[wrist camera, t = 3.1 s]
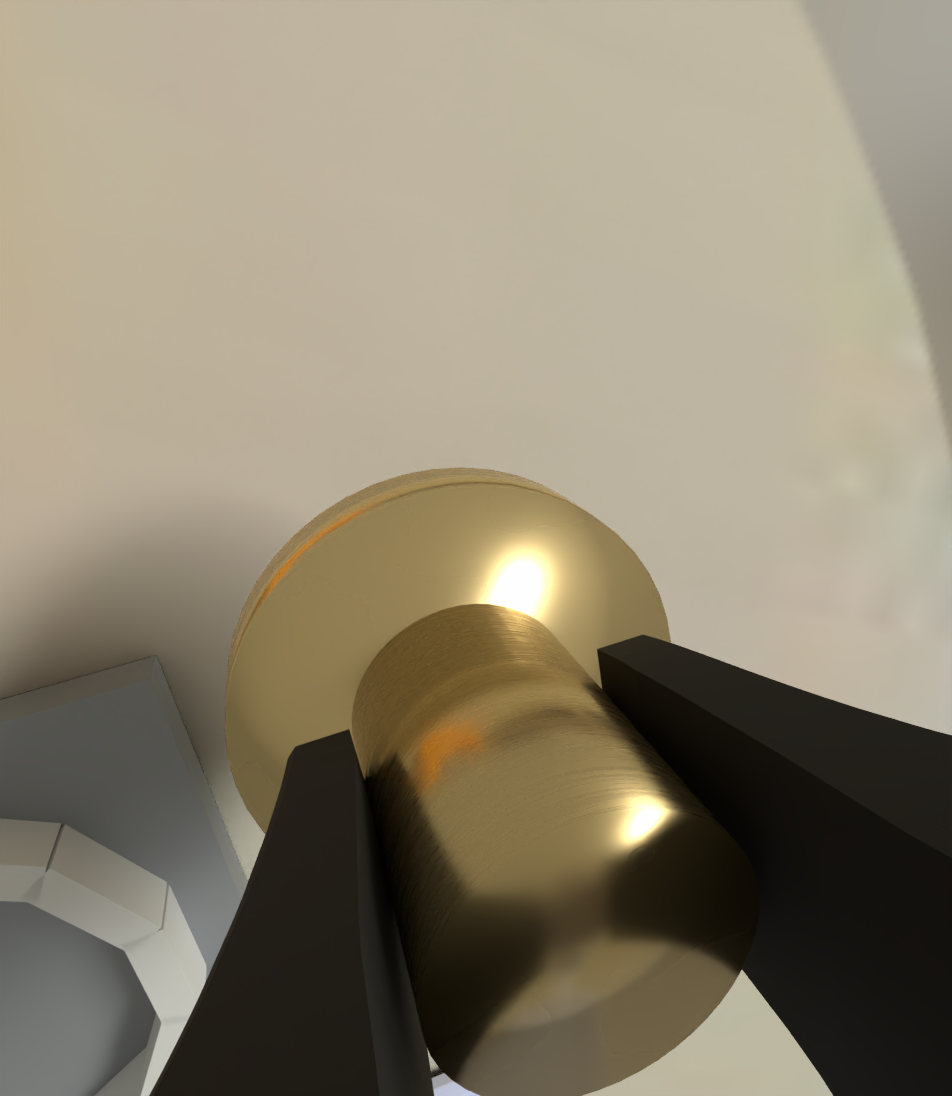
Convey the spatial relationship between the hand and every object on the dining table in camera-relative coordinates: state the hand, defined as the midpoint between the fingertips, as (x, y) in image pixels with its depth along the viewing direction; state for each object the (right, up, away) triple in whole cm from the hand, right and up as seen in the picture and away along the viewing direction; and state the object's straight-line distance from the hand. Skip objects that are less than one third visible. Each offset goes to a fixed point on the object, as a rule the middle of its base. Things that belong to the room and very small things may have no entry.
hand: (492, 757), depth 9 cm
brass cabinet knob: (-1, +1, +2) cm, 2 cm away
